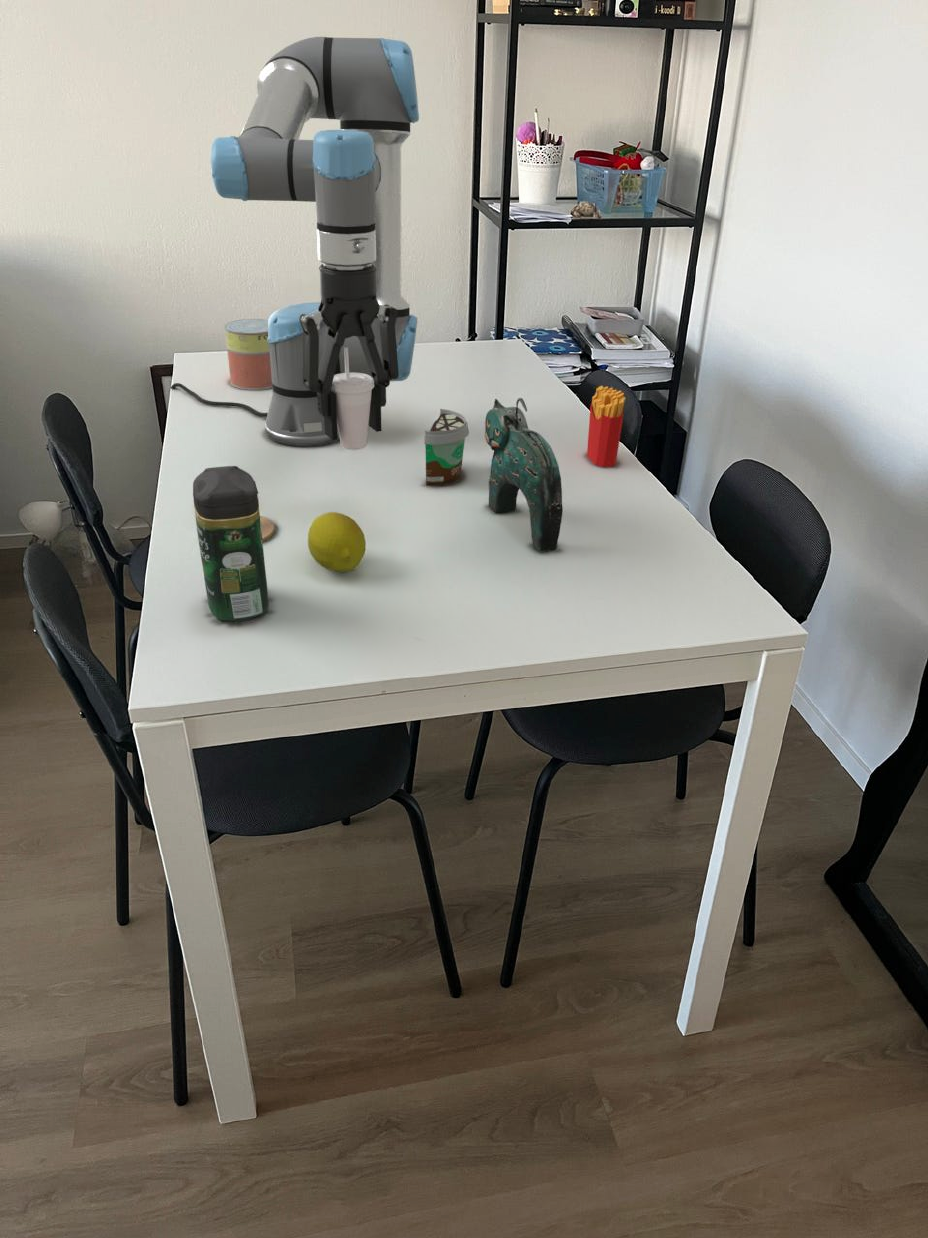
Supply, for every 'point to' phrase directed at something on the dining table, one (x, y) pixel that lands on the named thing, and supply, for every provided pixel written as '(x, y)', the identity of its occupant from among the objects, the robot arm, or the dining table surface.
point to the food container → (445, 448)
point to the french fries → (605, 426)
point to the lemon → (336, 542)
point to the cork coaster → (266, 528)
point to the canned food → (249, 354)
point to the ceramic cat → (524, 473)
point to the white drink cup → (352, 406)
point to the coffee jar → (230, 543)
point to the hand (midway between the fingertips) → (353, 432)
